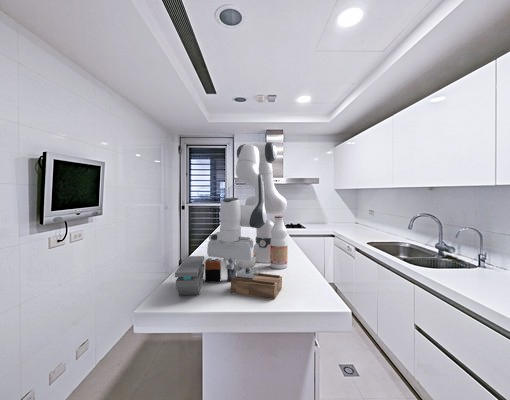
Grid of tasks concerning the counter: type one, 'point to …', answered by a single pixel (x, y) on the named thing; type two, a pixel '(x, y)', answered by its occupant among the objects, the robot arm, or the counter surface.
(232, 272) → the grey rounded cylinder
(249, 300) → the counter surface
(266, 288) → the socket block
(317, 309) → the counter surface
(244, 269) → the square lid with knob
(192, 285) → the grey storage box
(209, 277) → the battery
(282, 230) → the fruit juice
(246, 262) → the lidded jar
